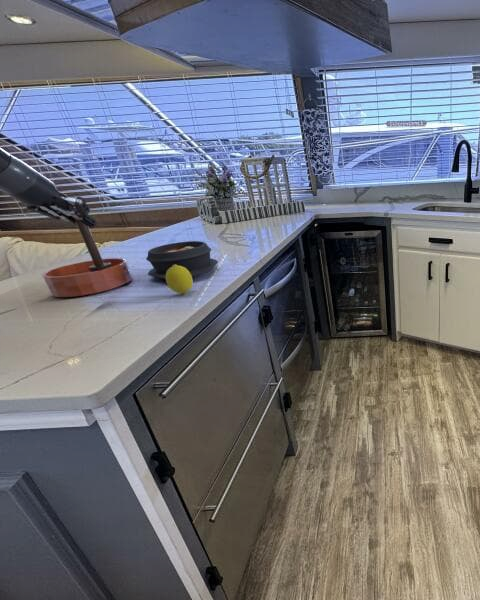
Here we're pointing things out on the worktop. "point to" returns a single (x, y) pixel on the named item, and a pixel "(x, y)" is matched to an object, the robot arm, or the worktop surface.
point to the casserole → (181, 258)
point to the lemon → (179, 279)
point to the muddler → (91, 247)
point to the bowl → (86, 278)
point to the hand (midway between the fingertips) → (89, 225)
